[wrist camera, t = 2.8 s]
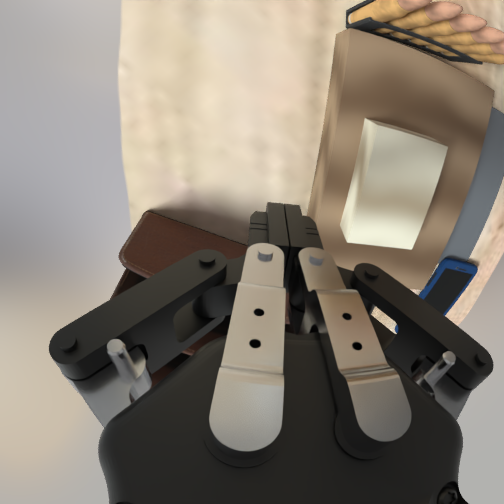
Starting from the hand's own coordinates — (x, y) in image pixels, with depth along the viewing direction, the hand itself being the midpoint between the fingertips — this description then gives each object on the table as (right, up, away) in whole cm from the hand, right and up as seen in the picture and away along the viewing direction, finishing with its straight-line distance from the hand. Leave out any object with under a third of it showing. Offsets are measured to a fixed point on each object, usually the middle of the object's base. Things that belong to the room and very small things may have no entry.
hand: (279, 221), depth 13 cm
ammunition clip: (+12, +17, +2) cm, 21 cm away
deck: (+11, +6, +10) cm, 16 cm away
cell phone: (+24, -8, +20) cm, 32 cm away
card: (+9, +3, +6) cm, 11 cm away
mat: (+23, +5, +10) cm, 26 cm away
